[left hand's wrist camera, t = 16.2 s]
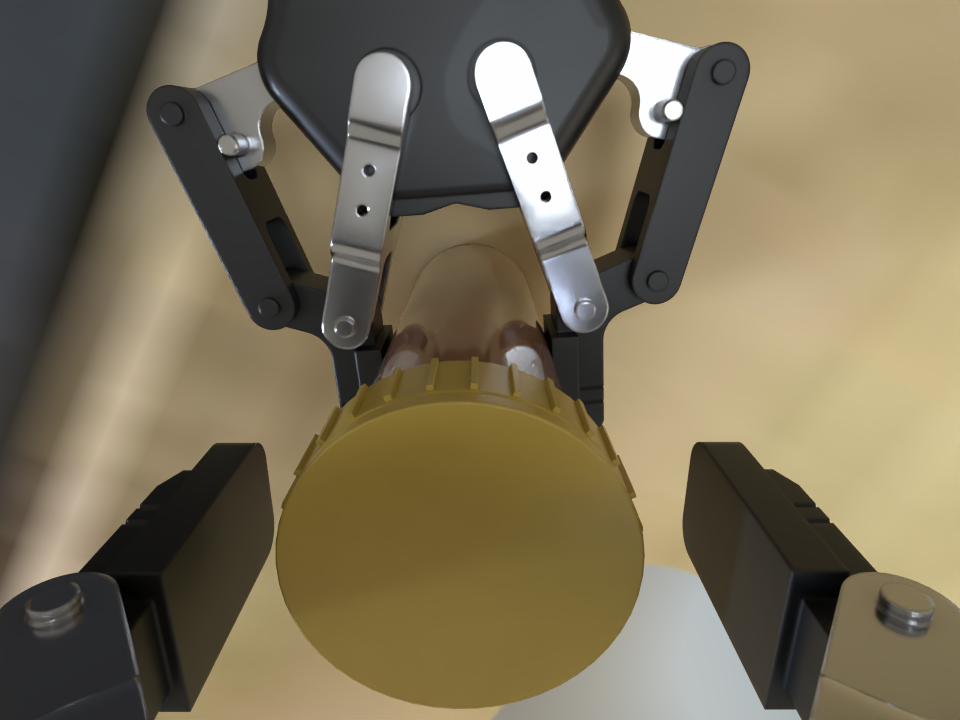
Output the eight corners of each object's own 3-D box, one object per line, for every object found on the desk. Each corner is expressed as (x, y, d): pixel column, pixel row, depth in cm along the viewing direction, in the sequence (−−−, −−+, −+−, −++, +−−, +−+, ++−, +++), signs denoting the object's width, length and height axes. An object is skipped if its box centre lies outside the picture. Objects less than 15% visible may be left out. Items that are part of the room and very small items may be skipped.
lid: (236, 446, 10) (192, 502, 9) (537, 294, 9) (549, 325, 8) (404, 675, 12) (392, 757, 10) (673, 563, 11) (706, 634, 9)
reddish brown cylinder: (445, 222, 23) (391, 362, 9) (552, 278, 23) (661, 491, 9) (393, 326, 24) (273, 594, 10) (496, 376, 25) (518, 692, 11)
